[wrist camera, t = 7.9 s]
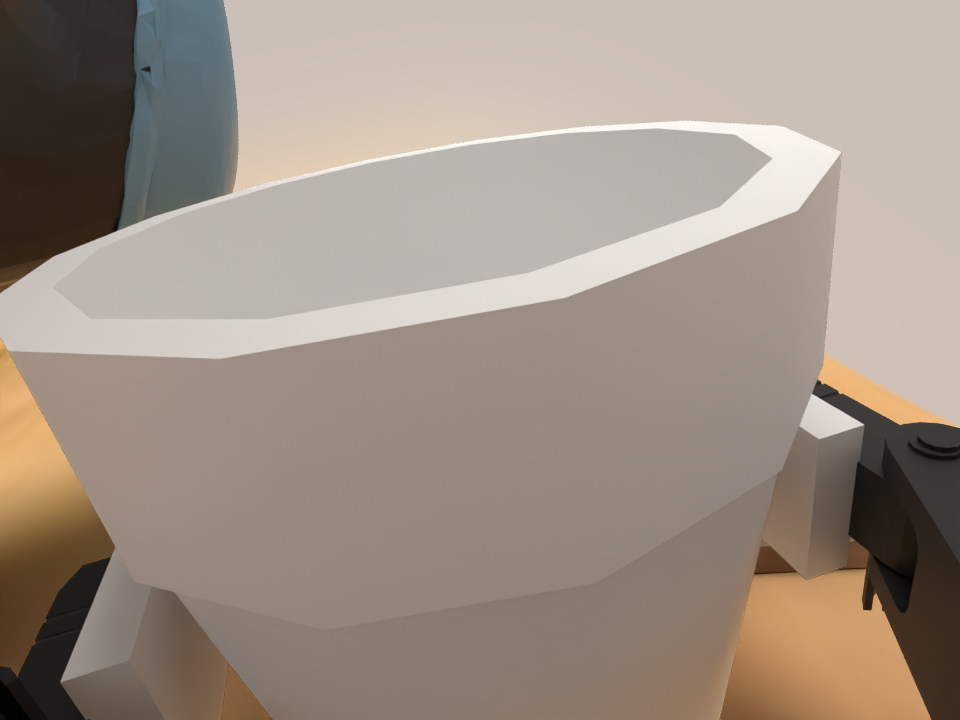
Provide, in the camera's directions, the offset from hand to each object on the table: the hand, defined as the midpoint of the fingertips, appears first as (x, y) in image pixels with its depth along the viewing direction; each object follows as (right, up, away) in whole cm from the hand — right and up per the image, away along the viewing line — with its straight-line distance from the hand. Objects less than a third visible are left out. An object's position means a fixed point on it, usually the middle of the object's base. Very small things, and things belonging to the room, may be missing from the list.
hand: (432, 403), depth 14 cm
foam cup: (+2, -9, -1) cm, 9 cm away
